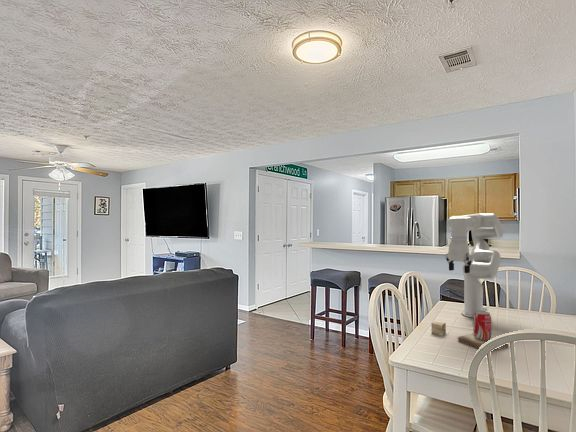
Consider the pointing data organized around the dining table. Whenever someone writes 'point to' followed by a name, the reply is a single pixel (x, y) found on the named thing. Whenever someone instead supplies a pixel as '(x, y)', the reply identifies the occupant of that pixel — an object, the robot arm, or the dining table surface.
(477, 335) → the soda can
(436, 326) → the oak block
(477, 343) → the walnut tray
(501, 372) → the dining table surface
